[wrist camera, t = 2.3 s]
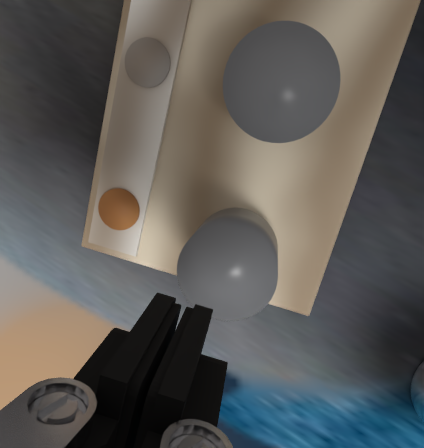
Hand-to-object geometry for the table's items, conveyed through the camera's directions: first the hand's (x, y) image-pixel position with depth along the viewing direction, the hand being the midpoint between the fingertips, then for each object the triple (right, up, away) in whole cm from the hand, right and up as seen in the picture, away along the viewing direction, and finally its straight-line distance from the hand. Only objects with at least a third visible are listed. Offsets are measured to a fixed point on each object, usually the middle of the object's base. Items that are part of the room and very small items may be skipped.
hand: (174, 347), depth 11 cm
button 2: (+2, +2, +10) cm, 10 cm away
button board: (+3, +11, +10) cm, 15 cm away
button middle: (+4, +10, +8) cm, 13 cm away
